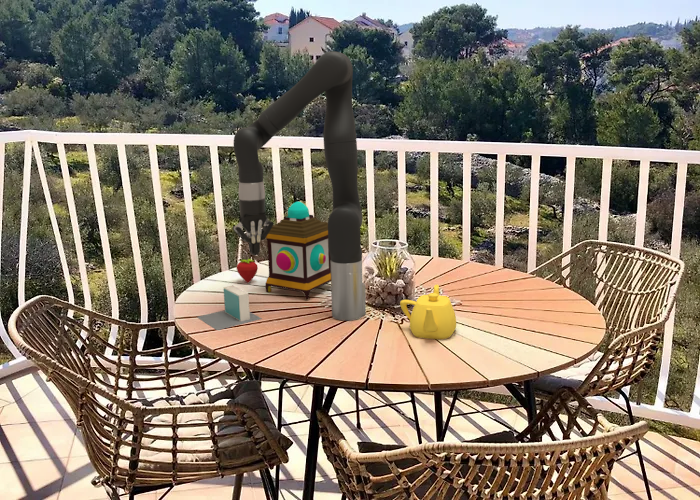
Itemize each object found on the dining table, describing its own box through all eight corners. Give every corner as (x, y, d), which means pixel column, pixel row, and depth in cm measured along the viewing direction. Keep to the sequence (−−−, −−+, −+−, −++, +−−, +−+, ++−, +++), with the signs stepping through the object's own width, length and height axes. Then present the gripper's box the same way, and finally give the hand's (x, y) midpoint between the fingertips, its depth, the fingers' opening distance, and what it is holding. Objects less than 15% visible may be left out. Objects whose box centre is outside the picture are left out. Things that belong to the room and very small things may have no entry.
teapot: (405, 315, 195) (405, 280, 193) (458, 318, 192) (459, 283, 189) (393, 344, 175) (393, 305, 172) (452, 348, 171) (453, 308, 169)
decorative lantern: (308, 303, 208) (305, 209, 201) (259, 293, 218) (254, 204, 211) (342, 286, 225) (340, 198, 217) (295, 278, 235) (291, 194, 227)
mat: (240, 307, 205) (240, 306, 205) (262, 319, 194) (262, 318, 194) (196, 318, 197) (196, 316, 197) (217, 331, 186) (217, 330, 186)
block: (234, 310, 202) (232, 285, 200) (249, 319, 194) (248, 293, 192) (224, 312, 200) (222, 287, 198) (240, 321, 192) (238, 295, 190)
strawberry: (241, 279, 234) (239, 252, 232) (261, 280, 232) (259, 253, 230) (234, 284, 229) (232, 256, 226) (254, 285, 227) (253, 257, 224)
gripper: (237, 201, 185) (240, 260, 190) (278, 196, 193) (280, 253, 197) (225, 197, 191) (228, 255, 196) (265, 192, 199) (268, 248, 203)
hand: (254, 254), depth 197 cm, fingers closed
